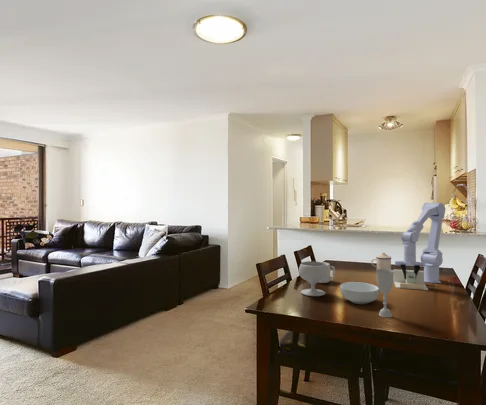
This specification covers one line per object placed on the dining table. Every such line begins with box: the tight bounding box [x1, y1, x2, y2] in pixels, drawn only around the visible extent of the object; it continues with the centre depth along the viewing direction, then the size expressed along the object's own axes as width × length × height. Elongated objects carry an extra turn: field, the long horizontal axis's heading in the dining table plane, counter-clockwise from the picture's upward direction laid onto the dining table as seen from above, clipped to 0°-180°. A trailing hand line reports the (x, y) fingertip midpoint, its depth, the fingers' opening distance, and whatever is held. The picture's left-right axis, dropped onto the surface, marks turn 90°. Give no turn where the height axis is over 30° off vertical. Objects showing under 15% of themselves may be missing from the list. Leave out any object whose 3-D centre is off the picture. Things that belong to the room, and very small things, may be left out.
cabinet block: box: [405, 269, 416, 284], centre depth 181 cm, size 10×4×6 cm, turn 161°
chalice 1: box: [298, 260, 327, 297], centre depth 169 cm, size 14×14×15 cm
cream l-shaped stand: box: [393, 269, 429, 291], centre depth 181 cm, size 13×15×7 cm
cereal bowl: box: [339, 281, 380, 305], centre depth 156 cm, size 17×17×7 cm
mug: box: [316, 261, 336, 284], centre depth 194 cm, size 14×11×10 cm
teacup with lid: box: [371, 252, 392, 270], centre depth 219 cm, size 12×9×12 cm
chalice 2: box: [375, 268, 395, 318], centre depth 137 cm, size 7×7×18 cm
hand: (409, 279), depth 182 cm, fingers closed on cabinet block, 4 cm apart
